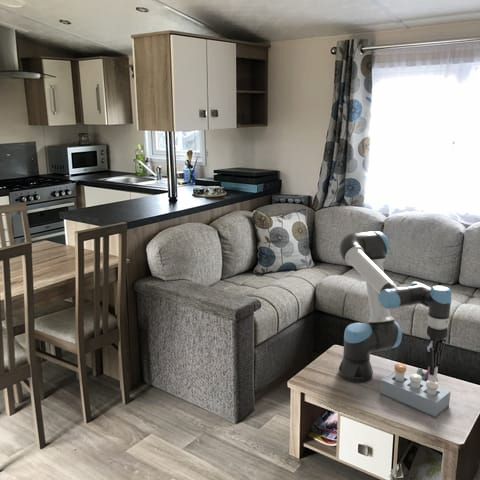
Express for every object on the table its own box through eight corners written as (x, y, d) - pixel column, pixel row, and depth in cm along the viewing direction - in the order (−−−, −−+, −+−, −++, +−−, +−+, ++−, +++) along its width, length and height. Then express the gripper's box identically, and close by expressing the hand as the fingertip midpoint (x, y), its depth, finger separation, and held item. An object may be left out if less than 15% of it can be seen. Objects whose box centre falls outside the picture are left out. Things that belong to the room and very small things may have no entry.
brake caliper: (444, 391, 209) (427, 367, 210) (420, 401, 214) (404, 378, 215) (444, 378, 220) (428, 355, 220) (421, 388, 224) (406, 366, 225)
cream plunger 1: (406, 395, 207) (407, 376, 204) (411, 391, 210) (413, 372, 208) (416, 400, 203) (418, 380, 201) (422, 395, 206) (424, 376, 204)
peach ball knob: (391, 385, 211) (392, 366, 209) (396, 381, 214) (398, 362, 212) (401, 389, 208) (402, 370, 206) (406, 385, 211) (408, 366, 209)
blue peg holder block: (380, 394, 211) (381, 379, 210) (395, 384, 219) (396, 370, 218) (435, 418, 194) (436, 402, 193) (448, 406, 202) (450, 391, 201)
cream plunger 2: (422, 402, 202) (424, 382, 199) (427, 398, 205) (429, 378, 203) (433, 407, 198) (435, 387, 196) (438, 402, 201) (440, 382, 199)
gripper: (439, 333, 187) (433, 390, 193) (454, 324, 195) (448, 378, 201) (420, 327, 192) (415, 383, 198) (436, 318, 201) (431, 372, 207)
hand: (432, 381), depth 200 cm, fingers closed
